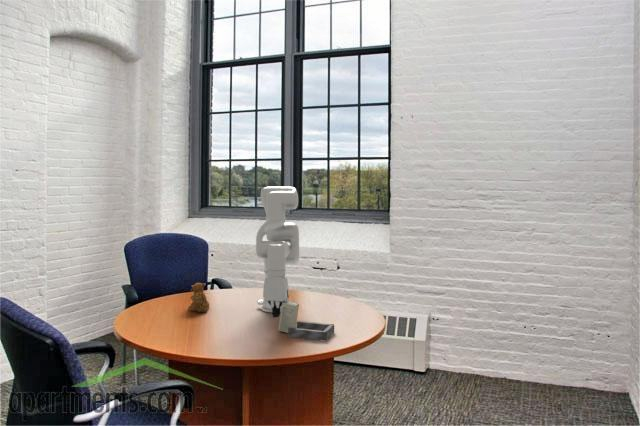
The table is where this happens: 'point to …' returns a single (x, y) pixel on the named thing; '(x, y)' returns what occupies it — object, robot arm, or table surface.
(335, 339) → the table surface
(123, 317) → the table surface
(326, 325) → the u rest
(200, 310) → the brown teddy bear
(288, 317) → the skincare box
